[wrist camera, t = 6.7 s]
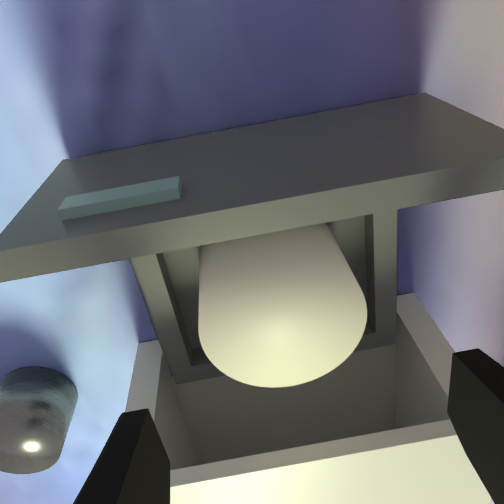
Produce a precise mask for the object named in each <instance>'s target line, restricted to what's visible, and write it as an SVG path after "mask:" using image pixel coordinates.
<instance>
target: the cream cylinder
mask: <svg viewBox="0 0 504 504" xmlns="http://www.w3.org/2000/svg"><path fill="white" fill-rule="evenodd" d="M366 322H367V305H366V301H365V297H364V294H363V292H362V290H361V288H360V286H359V284H358V282H357V280H356V278H355V276H354V275H353V273H352V271H351V269H350V267H349V265H348V263H347V261H346V259H345V257H344V255H343V253H342V251H341V250H340V248H339V246H338V244H337V242H336V240H335V238H334V236H333V234H332V232H331V230H330V228H329V227H328V225H327V223H320V224H315V225H309V226H304V227H299V228H293V229H288V230H282V231H277V232H271V233H266V234H261V235H255V236H250V237H244V238H239V239H234V240H228V241H223V242H217V243H212V244H206V245H201V249H200V269H199V316H198V333H199V339H200V343H201V345H202V348H203V350H204V352H205V354H206V356H207V357H208V359H209V360H210V361H211V362H212V364H213V365H214V366H216V367H217V368H218V369H219V370H220V371H221V372H223V373H224V374H226V375H227V376H229V377H231V378H233V379H235V380H237V381H240V382H242V383H246V384H249V385H254V386H260V387H287V386H294V385H298V384H303V383H306V382H309V381H312V380H314V379H317V378H319V377H321V376H323V375H325V374H327V373H329V372H330V371H332V370H333V369H335V368H336V367H338V366H339V365H340V364H341V363H342V362H343V361H345V360H346V359H347V358H348V357H349V355H350V354H351V353H352V352H353V351H354V349H355V348H356V347H357V345H358V343H359V341H360V340H361V338H362V335H363V333H364V330H365V326H366Z"/></svg>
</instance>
